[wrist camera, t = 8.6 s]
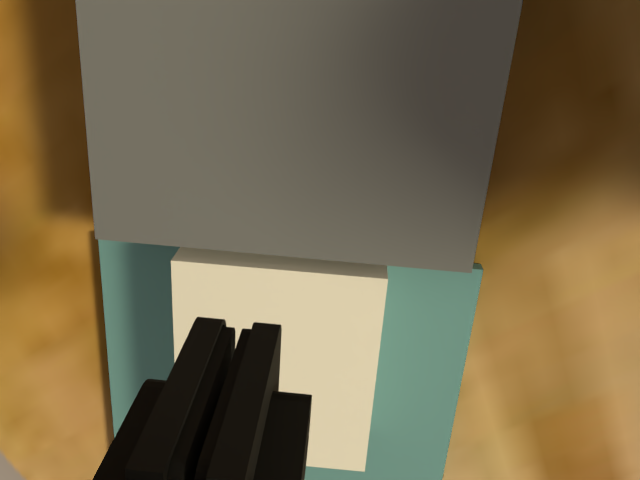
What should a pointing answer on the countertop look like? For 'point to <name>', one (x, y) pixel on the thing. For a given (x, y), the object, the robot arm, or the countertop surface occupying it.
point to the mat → (393, 364)
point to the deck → (296, 124)
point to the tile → (298, 332)
